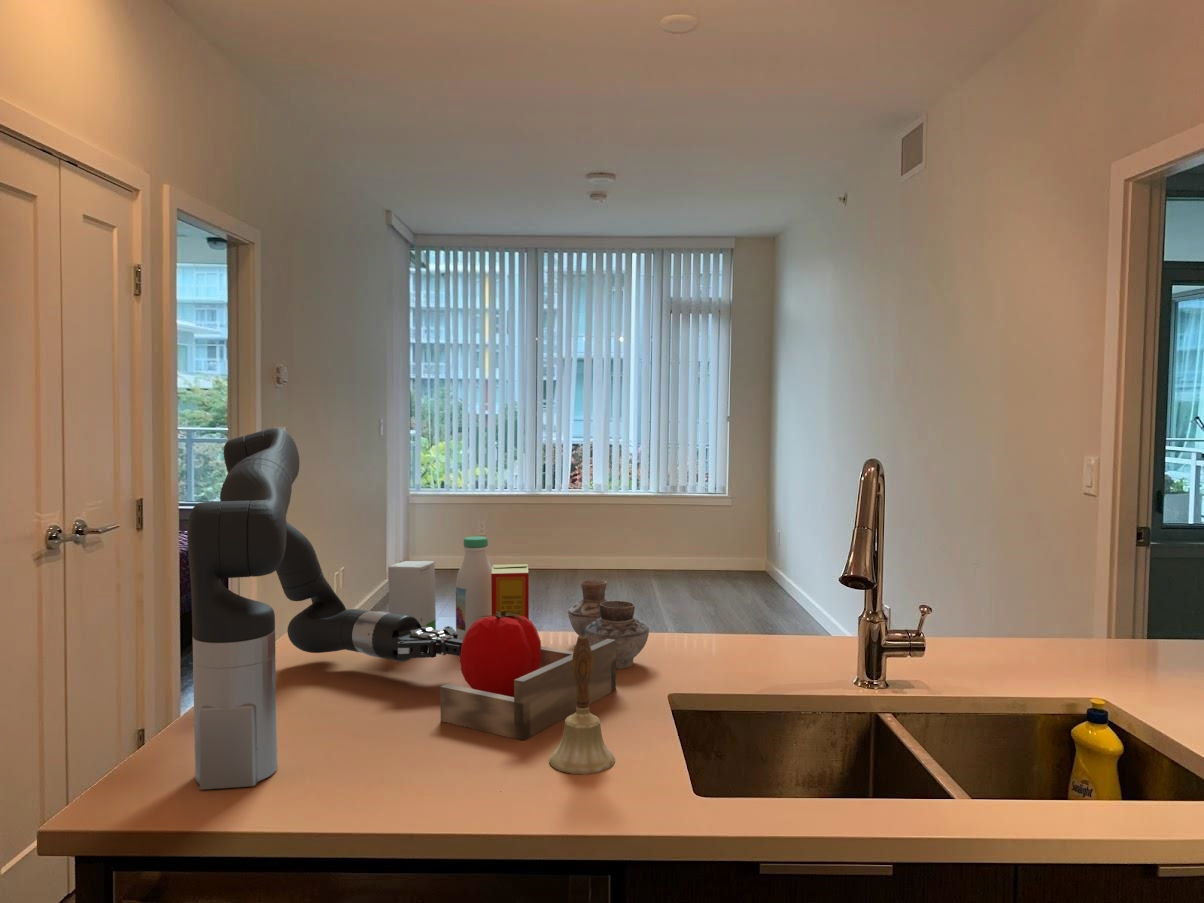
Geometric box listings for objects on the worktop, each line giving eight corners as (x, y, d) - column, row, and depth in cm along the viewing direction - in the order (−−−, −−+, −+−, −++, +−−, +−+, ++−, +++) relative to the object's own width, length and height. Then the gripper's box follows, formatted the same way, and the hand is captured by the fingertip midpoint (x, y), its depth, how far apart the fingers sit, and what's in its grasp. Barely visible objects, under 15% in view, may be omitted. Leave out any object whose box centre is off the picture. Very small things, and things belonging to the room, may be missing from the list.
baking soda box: (528, 660, 155) (528, 570, 154) (491, 661, 154) (491, 571, 154) (528, 646, 164) (527, 561, 164) (493, 647, 164) (492, 562, 163)
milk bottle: (500, 636, 172) (499, 535, 171) (491, 646, 164) (490, 540, 163) (461, 635, 172) (461, 534, 172) (451, 645, 165) (450, 540, 164)
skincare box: (419, 651, 161) (419, 567, 160) (386, 649, 162) (385, 566, 161) (437, 640, 169) (436, 560, 168) (405, 638, 170) (404, 559, 169)
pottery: (613, 635, 173) (613, 575, 172) (658, 671, 149) (658, 601, 148) (557, 639, 169) (557, 578, 169) (595, 677, 146) (595, 606, 145)
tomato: (472, 714, 127) (471, 623, 126) (451, 689, 139) (451, 606, 138) (554, 703, 132) (554, 616, 131) (527, 679, 144) (527, 599, 143)
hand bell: (628, 761, 110) (628, 636, 109) (580, 780, 104) (580, 648, 103) (583, 743, 116) (583, 624, 115) (535, 761, 110) (535, 635, 109)
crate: (440, 721, 124) (440, 665, 124) (540, 675, 146) (540, 628, 145) (523, 740, 117) (523, 681, 116) (616, 689, 138) (616, 639, 138)
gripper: (356, 621, 140) (439, 634, 132) (413, 605, 152) (493, 616, 143) (357, 667, 141) (440, 683, 132) (414, 648, 152) (493, 662, 143)
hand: (467, 649), depth 137 cm, fingers closed
